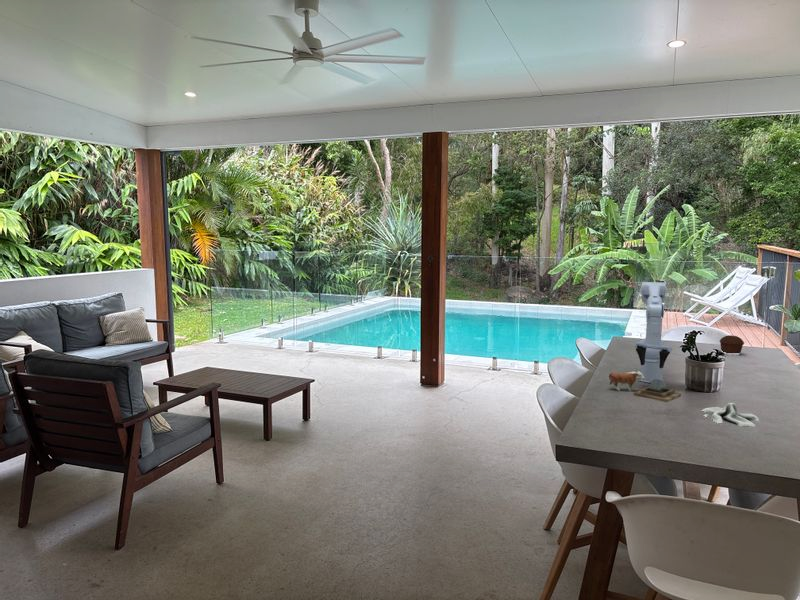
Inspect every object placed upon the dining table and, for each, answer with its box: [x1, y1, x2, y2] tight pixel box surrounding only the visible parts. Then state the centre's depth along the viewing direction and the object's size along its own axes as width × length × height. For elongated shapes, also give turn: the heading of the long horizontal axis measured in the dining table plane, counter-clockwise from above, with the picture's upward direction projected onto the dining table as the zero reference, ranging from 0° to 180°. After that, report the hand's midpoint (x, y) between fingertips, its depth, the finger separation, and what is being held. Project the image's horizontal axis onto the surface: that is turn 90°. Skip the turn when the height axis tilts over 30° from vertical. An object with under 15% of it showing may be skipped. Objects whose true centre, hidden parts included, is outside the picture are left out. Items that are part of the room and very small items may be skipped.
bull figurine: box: [608, 370, 644, 392], centre depth 233 cm, size 4×13×8 cm, turn 79°
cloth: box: [701, 402, 760, 428], centre depth 197 cm, size 22×19×6 cm
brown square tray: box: [633, 385, 682, 403], centre depth 226 cm, size 13×13×2 cm
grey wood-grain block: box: [649, 379, 667, 393], centre depth 226 cm, size 5×4×5 cm
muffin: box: [719, 334, 745, 353], centre depth 310 cm, size 12×11×10 cm
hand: (651, 366), depth 235 cm, fingers open, 7 cm apart
